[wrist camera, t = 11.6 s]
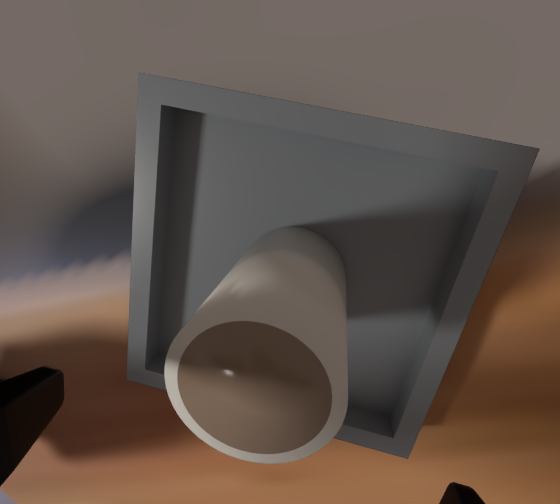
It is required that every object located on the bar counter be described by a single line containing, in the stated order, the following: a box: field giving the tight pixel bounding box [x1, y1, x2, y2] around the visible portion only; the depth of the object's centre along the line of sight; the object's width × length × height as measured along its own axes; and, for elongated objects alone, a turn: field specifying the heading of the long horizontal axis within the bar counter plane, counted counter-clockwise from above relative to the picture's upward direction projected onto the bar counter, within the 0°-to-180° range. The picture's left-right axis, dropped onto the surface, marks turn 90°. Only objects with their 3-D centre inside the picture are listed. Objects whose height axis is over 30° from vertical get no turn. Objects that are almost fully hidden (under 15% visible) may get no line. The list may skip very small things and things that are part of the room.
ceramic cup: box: [164, 226, 348, 464], centre depth 13 cm, size 5×5×8 cm
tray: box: [126, 73, 539, 459], centre depth 16 cm, size 15×15×2 cm
